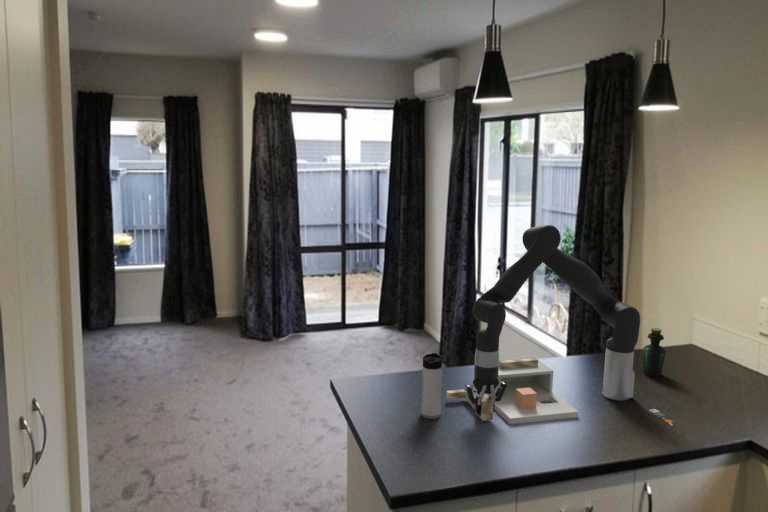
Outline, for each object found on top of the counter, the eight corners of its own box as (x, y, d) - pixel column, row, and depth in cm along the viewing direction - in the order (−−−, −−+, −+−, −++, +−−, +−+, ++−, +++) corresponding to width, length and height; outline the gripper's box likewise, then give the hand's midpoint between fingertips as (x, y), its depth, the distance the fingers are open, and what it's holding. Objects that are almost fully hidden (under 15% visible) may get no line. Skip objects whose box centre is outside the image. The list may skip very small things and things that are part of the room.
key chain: (645, 413, 203) (645, 408, 202) (654, 411, 204) (654, 407, 204) (674, 429, 191) (675, 425, 190) (684, 428, 192) (684, 424, 191)
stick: (535, 364, 217) (535, 358, 217) (537, 365, 216) (538, 360, 215) (498, 366, 214) (499, 360, 214) (501, 368, 212) (501, 362, 212)
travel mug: (442, 412, 200) (444, 353, 197) (438, 420, 194) (439, 360, 190) (424, 409, 202) (426, 351, 199) (419, 417, 196) (420, 358, 192)
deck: (535, 384, 225) (536, 358, 224) (578, 417, 198) (580, 388, 196) (474, 389, 219) (475, 362, 218) (509, 424, 192) (511, 394, 190)
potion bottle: (642, 376, 235) (646, 331, 231) (639, 369, 242) (643, 325, 239) (665, 378, 232) (669, 333, 229) (662, 371, 240) (666, 327, 237)
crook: (470, 394, 211) (470, 378, 210) (492, 419, 193) (493, 402, 192) (446, 396, 209) (447, 380, 208) (466, 422, 191) (467, 404, 190)
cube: (528, 401, 204) (529, 387, 204) (536, 407, 200) (536, 393, 199) (515, 403, 203) (515, 388, 202) (522, 409, 198) (522, 394, 198)
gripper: (502, 357, 197) (500, 407, 200) (461, 360, 194) (459, 411, 197) (512, 365, 190) (510, 417, 193) (470, 368, 186) (468, 421, 189)
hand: (484, 413), depth 195 cm, fingers closed on crook, 3 cm apart
